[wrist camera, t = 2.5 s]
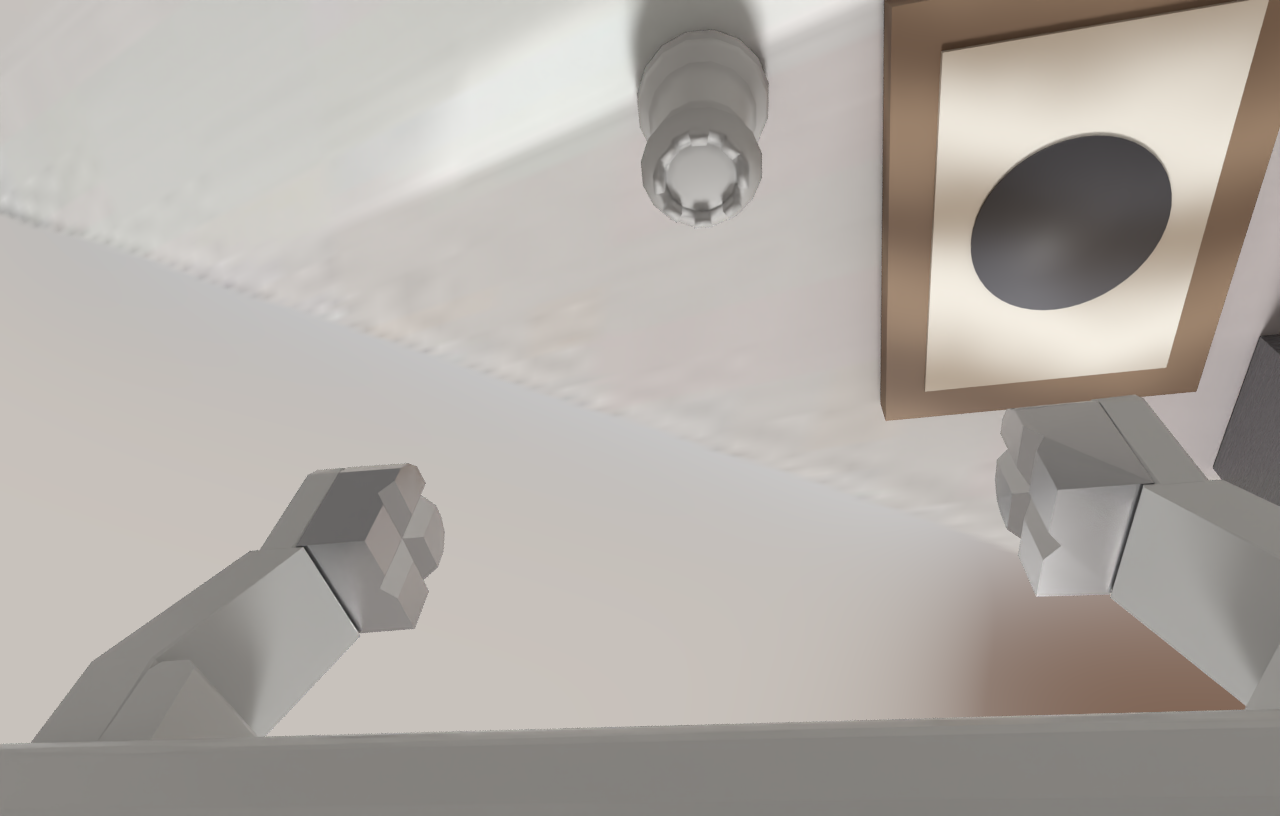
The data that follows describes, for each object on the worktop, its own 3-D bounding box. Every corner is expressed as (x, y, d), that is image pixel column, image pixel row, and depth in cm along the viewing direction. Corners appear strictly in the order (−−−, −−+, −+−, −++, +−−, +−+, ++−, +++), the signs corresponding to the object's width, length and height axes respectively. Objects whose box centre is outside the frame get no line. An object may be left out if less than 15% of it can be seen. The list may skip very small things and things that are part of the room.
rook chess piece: (754, 169, 27) (768, 271, 21) (632, 153, 27) (608, 250, 21) (781, 34, 24) (807, 104, 18) (645, 17, 24) (622, 81, 18)
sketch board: (884, 0, 24) (893, 8, 22) (1315, -80, 22) (1351, -75, 20) (880, 403, 33) (887, 425, 32) (1181, 374, 31) (1200, 395, 30)
